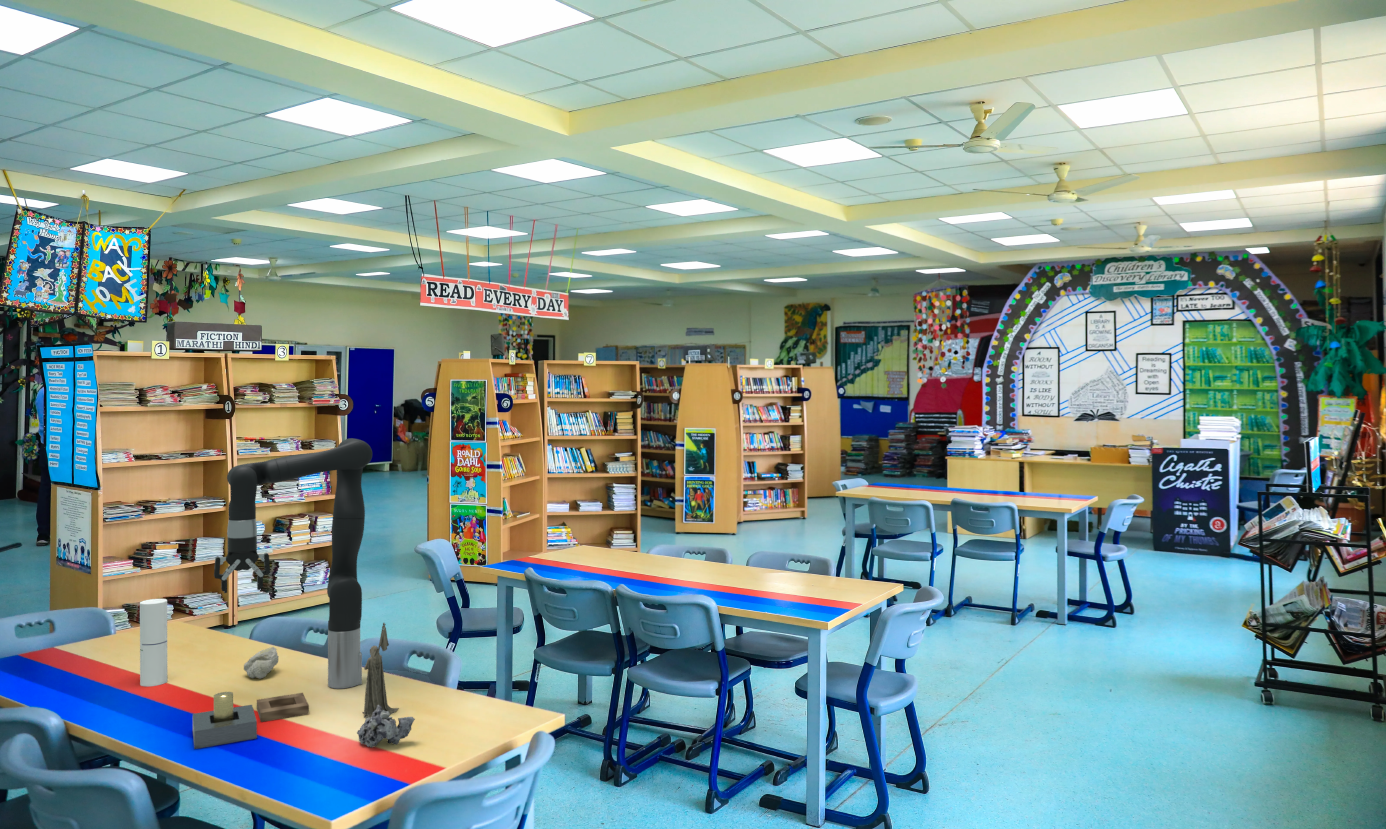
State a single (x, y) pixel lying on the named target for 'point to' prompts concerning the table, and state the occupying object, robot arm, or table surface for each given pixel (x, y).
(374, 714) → the mineral specimen
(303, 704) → the walnut stand
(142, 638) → the cylindrical container
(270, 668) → the fossil replica
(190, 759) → the table surface
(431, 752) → the table surface
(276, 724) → the table surface
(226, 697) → the brass peg
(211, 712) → the charcoal block
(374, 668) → the wizard figurine
